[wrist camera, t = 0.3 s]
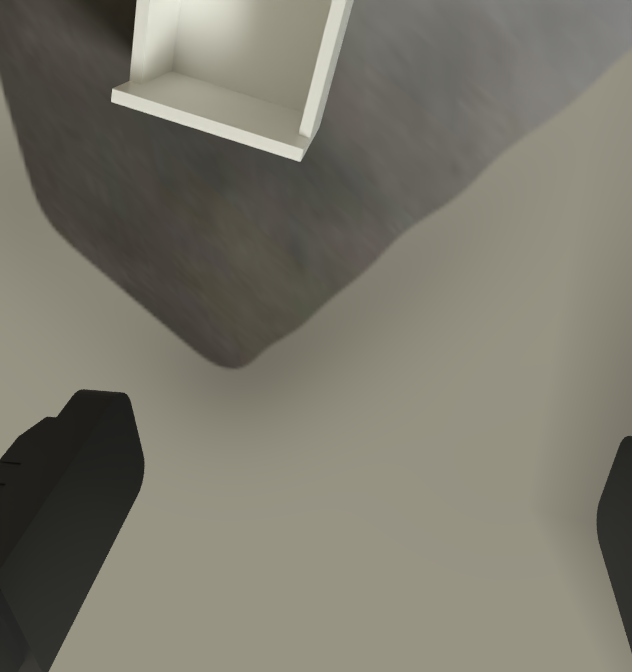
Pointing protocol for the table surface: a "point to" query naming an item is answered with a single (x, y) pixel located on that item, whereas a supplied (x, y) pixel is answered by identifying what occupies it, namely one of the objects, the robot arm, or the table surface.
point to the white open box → (237, 67)
